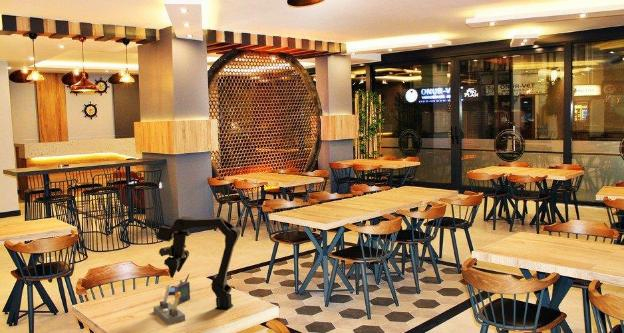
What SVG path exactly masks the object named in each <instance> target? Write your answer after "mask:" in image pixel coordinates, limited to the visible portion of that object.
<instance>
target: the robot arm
mask: <svg viewBox="0 0 624 333" xmlns="http://www.w3.org/2000/svg"><path fill="white" fill-rule="evenodd" d="M213 227H215V228H217V229H218V230H219V231H220V233H221V234H223V235H224V237H225V238H224V249H223V253H222V257H221V261H220V263H219V264H220V265H219V269H218V273H215V274H214V276H213V277H212V279H211V280H212V281H211V284H210V287H211V290H212V292H213V293H214V294H215V297H216V298H215V306H216V307H215V309H216V310H224V311H227V310H230V309H231V308H232V307H233V306H234V304H233V303H232V294H231V292H232V287H231V286H230V285H229V284H228V271H229V268H230V262H231V259H232V257H233V253H234V252H233V251H234V248H235V246H236V244H237V242H238V239H239V238H240V236H241V230H240V228H238V227H237V226H234V225H233V224H232V223H230V222H229V221H227V220H226V219H224V218H223V217H221V216H220V217H219V216H218V217H207V218H206V217H202V218H193V217H190V216H180V217H178V218H177V219H176V220H174V222H173V225H172V226H171V227H170V226H169V227H168V226H164V225H161V226H159V229H158V231H157V233H156V239H157V240H158V241H162V242H167V243H168V242H171V241H172V244H171V245H170V246H166V247H161V248H160V249H159V250H158V254H159V255H160V257H165V256H168V257H166V258H165V259H164V263H163V265H165V266H166V267H168V271H169V278H174V276H175V274H176V273H179V272H180V271H181V270H182V268H183V266H184V264H185V263H186V261H187V260H188V258H189V255H190V251H189V250H187V249H185V248H187V245H186V241H187V240H186V239H187V237H189V236H191V235H192V234H191V232H190V231H189V229H192V228H193V229H194V228H213Z"/></svg>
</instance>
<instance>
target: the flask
mask: <svg viewBox="0 0 624 333" xmlns="http://www.w3.org/2000/svg"><path fill="white" fill-rule="evenodd" d="M173 286H174V288H175V294H176V293H177V292H180V293H181V297H180V298H179V301H178V304H177V305H179V304H182V303H185V302H186V301H189V300H191V290H190V289H191V288H190V286H191V285H190V281H188V280H187V281H185V280H184V281H183V280H181V279H180V280H179V283H178V284H175V285H173ZM175 298H176V296H175V295H174V299H175Z"/></svg>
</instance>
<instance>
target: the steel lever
mask: <svg viewBox="0 0 624 333" xmlns="http://www.w3.org/2000/svg"><path fill="white" fill-rule="evenodd" d="M171 286H172V285H170V284H167V285H166V286H165V293H164V297H163V299H162V301H163V303H168V302H167V301H168V298H169V295H168V294H169V291H170V290H171ZM163 303H162V304H163Z"/></svg>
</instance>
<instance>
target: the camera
mask: <svg viewBox="0 0 624 333" xmlns="http://www.w3.org/2000/svg"><path fill="white" fill-rule="evenodd" d="M189 276H190V274H189V273H188V275H187V276H186V278H185V280H184V282H185V281H188V279H189ZM170 286H171V290H170V291H169V294H168V296H175V288H174V286H175V285H170Z"/></svg>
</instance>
